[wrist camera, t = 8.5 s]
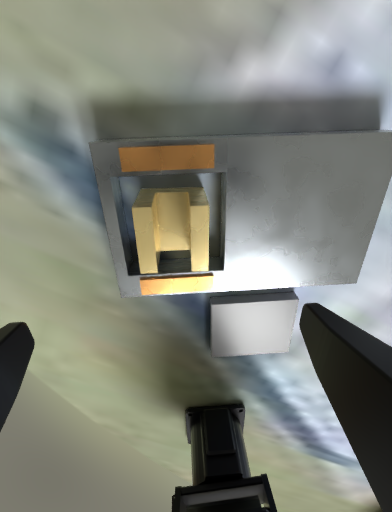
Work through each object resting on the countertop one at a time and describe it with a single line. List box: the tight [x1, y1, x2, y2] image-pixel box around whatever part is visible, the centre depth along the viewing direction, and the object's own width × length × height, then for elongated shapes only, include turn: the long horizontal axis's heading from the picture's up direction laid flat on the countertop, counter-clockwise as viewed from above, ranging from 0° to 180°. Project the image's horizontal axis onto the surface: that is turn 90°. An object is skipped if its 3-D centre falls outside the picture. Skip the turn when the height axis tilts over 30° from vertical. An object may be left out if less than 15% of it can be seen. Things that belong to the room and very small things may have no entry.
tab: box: [210, 292, 299, 357], centre depth 22 cm, size 6×7×1 cm
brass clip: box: [132, 187, 209, 274], centre depth 16 cm, size 4×4×4 cm
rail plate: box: [89, 130, 392, 298], centre depth 17 cm, size 10×17×2 cm, turn 92°
